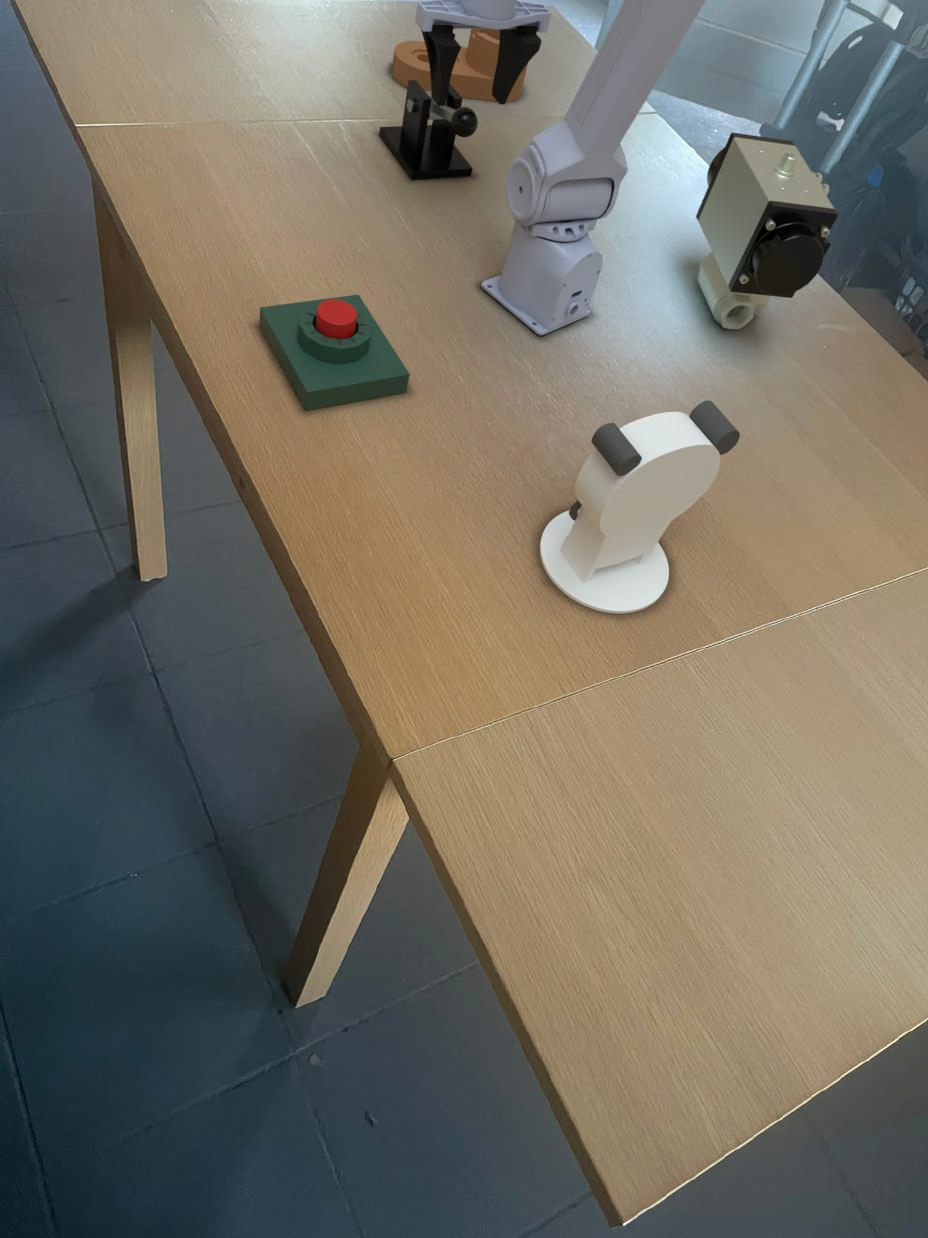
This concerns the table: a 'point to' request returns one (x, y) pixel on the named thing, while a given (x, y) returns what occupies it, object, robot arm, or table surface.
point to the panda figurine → (633, 506)
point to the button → (336, 319)
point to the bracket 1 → (457, 66)
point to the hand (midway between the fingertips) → (468, 100)
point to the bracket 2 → (426, 139)
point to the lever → (455, 117)
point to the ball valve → (760, 226)
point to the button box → (332, 355)
